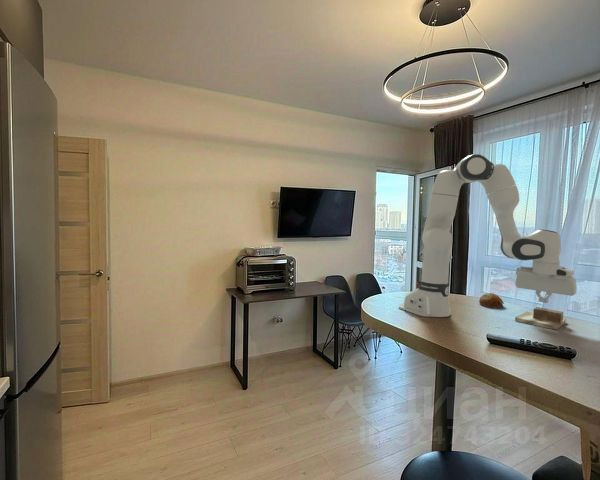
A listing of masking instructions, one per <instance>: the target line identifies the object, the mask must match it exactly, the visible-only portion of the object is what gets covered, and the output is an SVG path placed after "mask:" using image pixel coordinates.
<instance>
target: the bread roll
mask: <svg viewBox="0 0 600 480" xmlns="http://www.w3.org/2000/svg"><path fill="white" fill-rule="evenodd" d="M478 302H479V305H481V306H483V307H486V308H493V309H502V308H503V307H504V304H505V302H504V301H503V299H502V298H501V297H500V296H499V295H497V294H495V293H493V292H488V293H485V294H482V295H481V296H480V298H479V300H478Z"/></svg>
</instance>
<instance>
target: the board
mask: <svg viewBox="0 0 600 480" xmlns="http://www.w3.org/2000/svg"><path fill="white" fill-rule="evenodd" d="M514 321H516V322H520V323H524V324H529V325H532V326H538V327H541V328H546V329H552V330H554V331H556V330H558V329H560V328H561V327H562V326H563V325H565V324H566V322H567V321H566V318H563V322H561V323H555V322H550V321H545V320H540V319H536V318H533V312H530V311H524V312H522V313H520V314H518V315H517V316H515V317H514Z"/></svg>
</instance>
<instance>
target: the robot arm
mask: <svg viewBox="0 0 600 480" xmlns="http://www.w3.org/2000/svg"><path fill="white" fill-rule="evenodd" d="M475 182H478V183H480V184H481V185H482V186H483V189H484V191H485V194H486V197H487V199H488V202H489V204H490V206H491V209H492V210H493V213H494V216H495V219H496V222H497V223H496V224H497V226H498V228H499V229H498V230H499V233H500V236H501V237H500V238H501V239H500V251H501V253H502V255H504V256H505V257H506V258H509V259H513V260H518V261H523V262H524V261H530V260H532V266H531V267H530V266H528V267H527V266H520V267H517V268H516V271H515V274H516V278H515V283H514V286H515V287H516V288H517V289H518V288H519V289H525V290H531V291H535V294H536V296H537V298H538V302H540V303H545V304H548V303H549V299H550V298H551V297H552V295H553V294H557V295H565V296H571V297H573V296H575V295H577V292H578V291H577V281H576V278H575V277H574V270H573V269H570V268H568V267H564V266H562V265H561V262H560V254H561V251H562V250H561V249H562V248H561V247H562V246H561V245H562V244H561V235H560V234H559V233H558V232H557V231H554V230H550V229H549V230H548V229H542V228H541V229H540V228H538V229H537V230H536V231H534V232H531V233H529V234H527V235H523V236H521V235H520V234H519V232H518V229H517V225H516V222H515V218H514V211H515V209H516V208H517V206H518V205H519V203H520V194H519V189H518V187H517V184H516V181H515V178H514V177H513V175H512V173H511V172H510V170H509V168H508V167H507V166H506V165H505V164H501V163H495V164H494V163H493V162H491V161H490V159H488V158H487V157H486V156H484V155H482V154H479V153H478V154H477V153H475V154H470V155H469V154H468V155H467V156H466V157H464V158H462V159H461V160H460V161H459V162H457V164H456V165H455V167H454V168H452V169H445V170H442V171H440V172H438V174H437V175H436V177H435V181H434V182H433V186H432V190H431V193H430V194H431V195H430V200H429V205H428V211H427V215H426V218H425V223H424V225H423V226H424V227H423V232H422V235H421V236H422V237H421V241H422V244H423V245H424V246H423V257H422V263H421V265H422V266H421V269H422V271H421V280H419V281H416V286H417V288H415V289H413V290H412V291H410V292H409V293H407V294H406V296H405V297H404V302H403V303H400V304H399V305H398V309H400V310H403V311H405V310H406V312H408V313H412V314H415V315H418V316H420V317H429V318H431V317H434V318H447V317H449V316H451V314H452V312H451V309H450V302H449V295H450V294H449V293H450V283H449V274H450V271H449V270H450V261H451V257H452V249H453V235H452V233H451V228H452V224H453V221H454V219H455V216H456V210H457V207H458V206H457V205H458V201H459V196H460V190H461V187H462V186H463V185H465V184H467V185H468V184H471V183H475ZM542 292H544V293H546V295H547V296H546V297H544V296H542V294H541V293H542Z"/></svg>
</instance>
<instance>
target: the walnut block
mask: <svg viewBox="0 0 600 480" xmlns="http://www.w3.org/2000/svg"><path fill="white" fill-rule="evenodd" d="M532 313H533V318H536V319H540V320H545V321H550V322H555V323H561V322H563V319H564V311H561V310H560V311H559V310H555V309H549V308H544V307H539V306H538V307H537V306H536V307H534V308H533V312H532Z"/></svg>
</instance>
